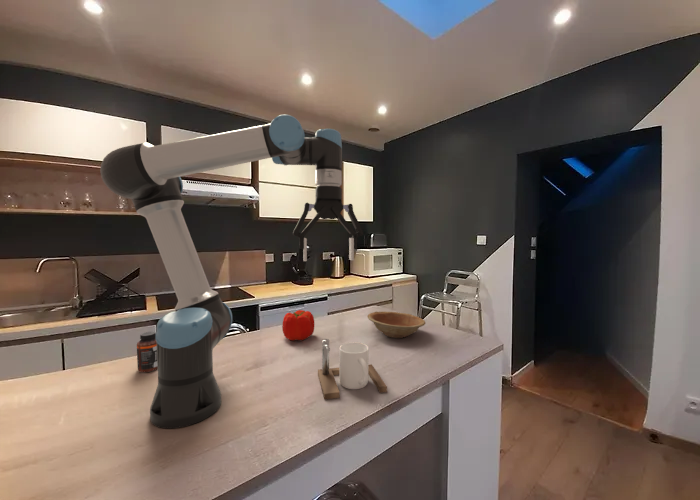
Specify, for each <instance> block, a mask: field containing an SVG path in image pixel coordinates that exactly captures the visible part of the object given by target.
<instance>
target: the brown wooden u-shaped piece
mask: <svg viewBox="0 0 700 500" xmlns="http://www.w3.org/2000/svg"><path fill="white" fill-rule="evenodd" d="M335 376H339V367H331V368H330V367H329V374H328V375H323V374H322V368H321V369H317V377H318V380H319V385H320V388H321V389H320V390H321V393H322V396H323V399H324V400H332V399H338V398H339V399H340V390H339V387H338V384H337V382H336V379H335ZM368 377H369V378H370V379H371V381H372V383H373V384H374V386H375V387H376V389H377V391H378V392H379V394H382V393H387V392H388V386H387V385H386V383H385V381H384V380H383V379H382V377H381V375H380V374H379V373H378V371H377V370H376V368H375V367H374V365H373V364H372V363H371V364H368Z"/></svg>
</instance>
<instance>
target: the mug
mask: <svg viewBox="0 0 700 500" xmlns="http://www.w3.org/2000/svg"><path fill="white" fill-rule="evenodd" d="M338 352H339V353H338V354H339V355H338V356H339V357H338V358H339V361H338V362H339V367H338V368H339V375H338V376H339V384H340V385H341V386H342V387H343V388H345V389H348V390H359V389H363V388H365V387H366V386H367V385H368V383H369V374H368V365H369V354H370V353H369V346H368V345H367V344H365V343H362V342H358V341H357V342H355V341H354V342H353V341H352V342H346V343H345V342H344V343H343V344H341V345H340V346H339V351H338Z"/></svg>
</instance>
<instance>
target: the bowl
mask: <svg viewBox="0 0 700 500" xmlns="http://www.w3.org/2000/svg"><path fill="white" fill-rule="evenodd" d="M367 319H368V320H369V321H371V322H372V324H373V325H374V326H375V328H376V329H377V330H378V331H380V332H381V333H382V334H383V335H385V336H387V338H391V339H392V338H393V339H403V337H404V338H406V337H408V336H410V335H413V334H414V333H416V332H417V331H418V330H419V328H422V327H423V326H425V325H426V320H424V319H423V318H421V317H419V316H416V315H412V314H410V313H405V312H396V311H374V312H373V311H372V312H370V313H369V314H368V315H367Z"/></svg>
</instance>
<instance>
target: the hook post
mask: <svg viewBox="0 0 700 500" xmlns="http://www.w3.org/2000/svg"><path fill="white" fill-rule="evenodd" d="M321 348H322V349H321V353H322V355H321V357H322V358H321V360H322V361H321V363H322V364H321V369H322V374H323V375H328V374H329V369H330V351H331V348H330V339H329V338H323V339H322V347H321Z"/></svg>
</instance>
